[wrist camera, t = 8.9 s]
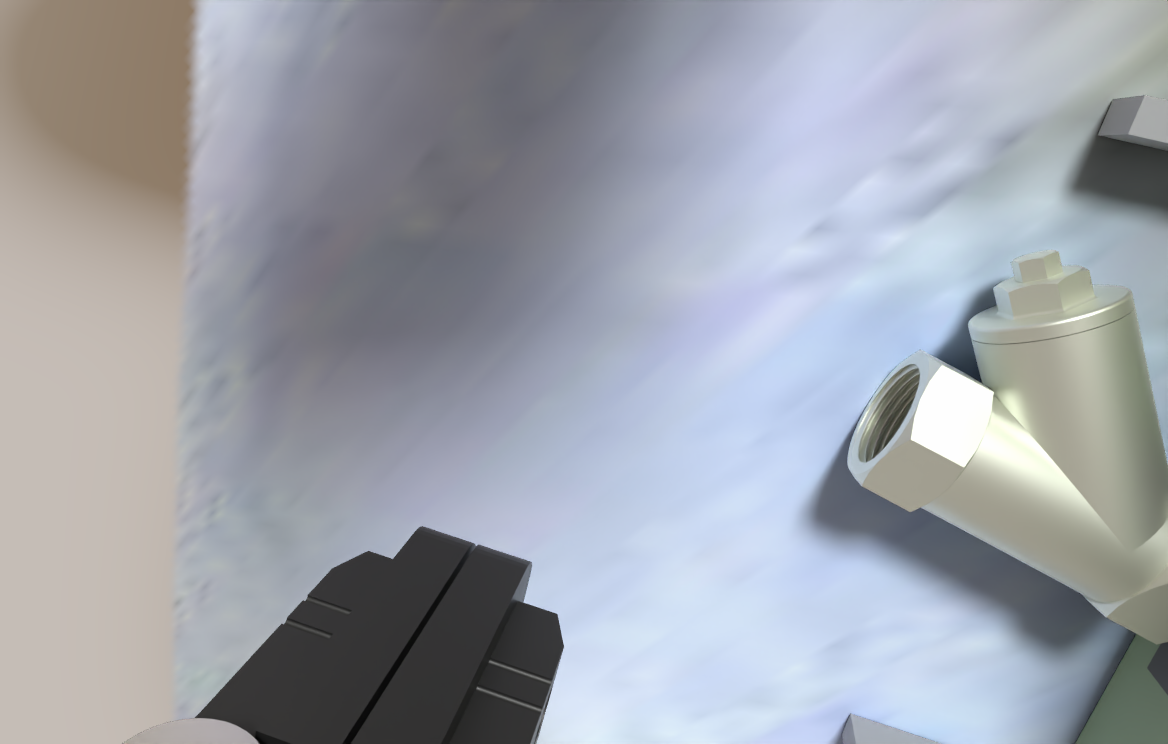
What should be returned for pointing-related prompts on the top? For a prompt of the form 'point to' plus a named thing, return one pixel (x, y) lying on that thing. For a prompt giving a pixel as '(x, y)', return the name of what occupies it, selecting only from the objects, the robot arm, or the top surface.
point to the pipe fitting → (1038, 440)
